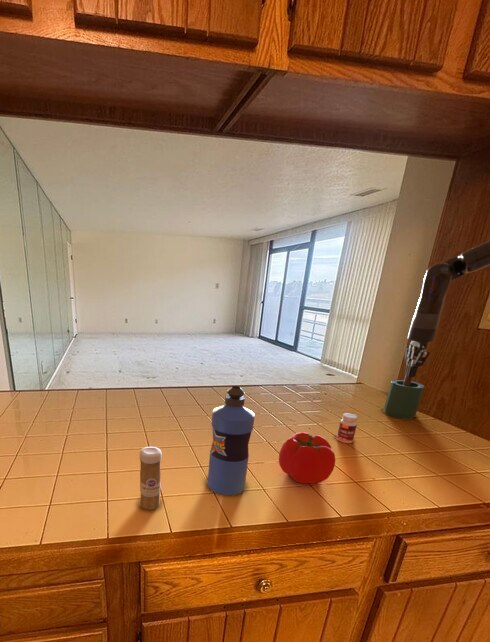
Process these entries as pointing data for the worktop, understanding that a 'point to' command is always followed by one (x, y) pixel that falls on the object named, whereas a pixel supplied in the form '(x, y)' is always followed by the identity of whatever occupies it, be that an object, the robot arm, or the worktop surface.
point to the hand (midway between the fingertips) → (409, 375)
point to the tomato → (307, 458)
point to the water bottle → (230, 444)
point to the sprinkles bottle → (150, 477)
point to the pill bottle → (347, 428)
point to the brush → (407, 377)
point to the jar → (403, 399)
